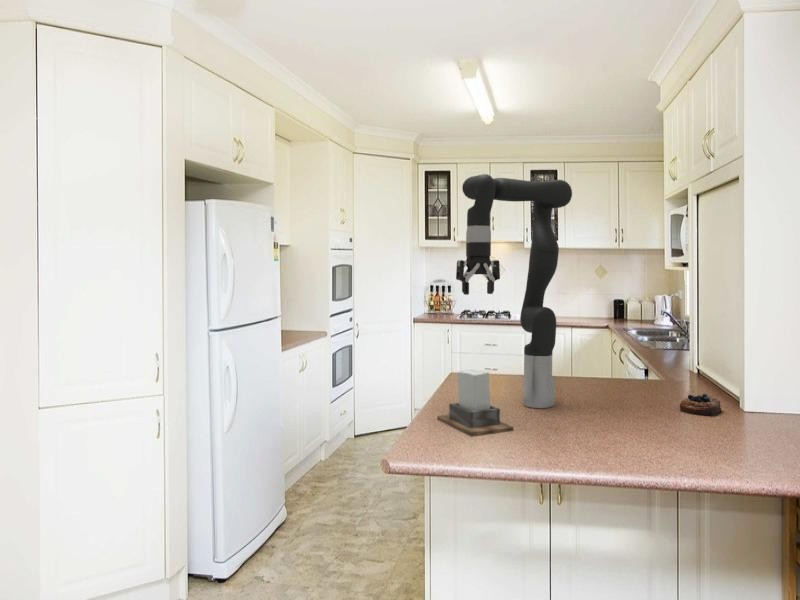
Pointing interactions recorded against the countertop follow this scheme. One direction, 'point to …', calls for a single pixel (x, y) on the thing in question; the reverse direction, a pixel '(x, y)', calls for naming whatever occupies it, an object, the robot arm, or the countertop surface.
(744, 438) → the countertop surface
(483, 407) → the skincare box
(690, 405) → the pastry
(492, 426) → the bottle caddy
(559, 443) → the countertop surface
